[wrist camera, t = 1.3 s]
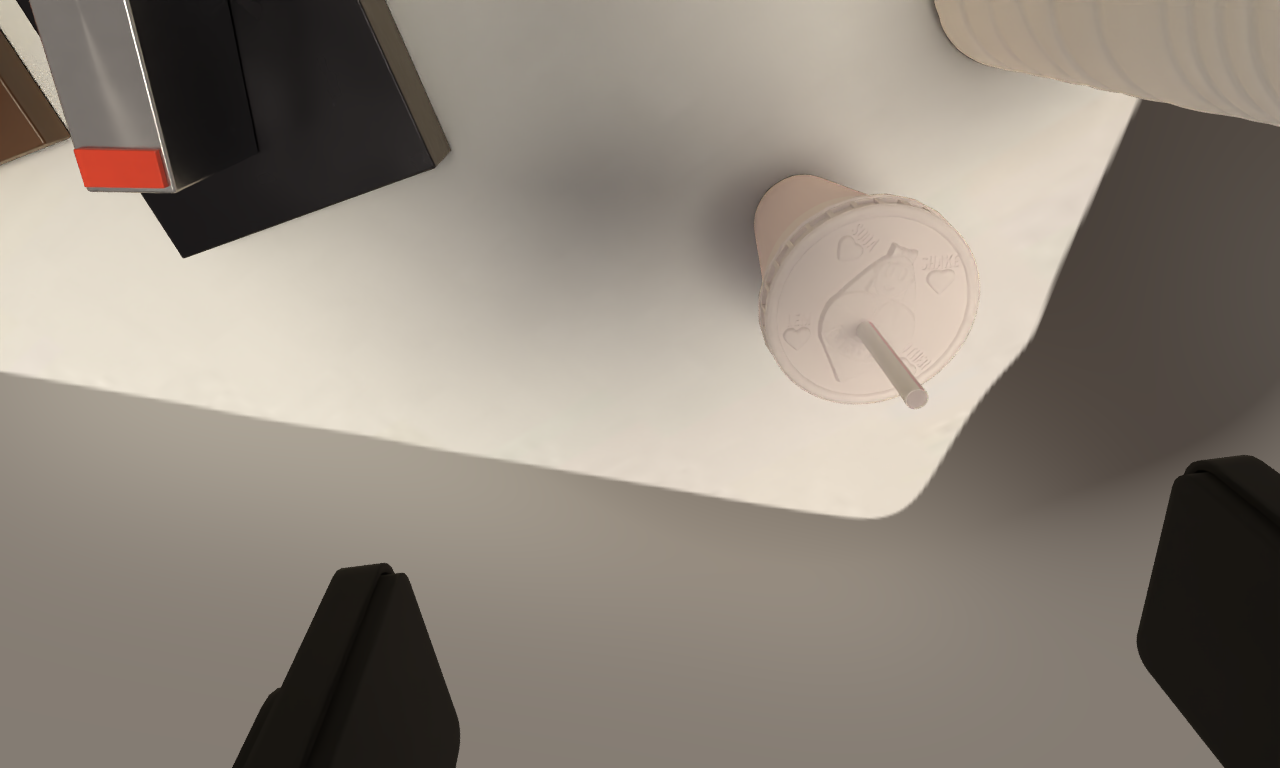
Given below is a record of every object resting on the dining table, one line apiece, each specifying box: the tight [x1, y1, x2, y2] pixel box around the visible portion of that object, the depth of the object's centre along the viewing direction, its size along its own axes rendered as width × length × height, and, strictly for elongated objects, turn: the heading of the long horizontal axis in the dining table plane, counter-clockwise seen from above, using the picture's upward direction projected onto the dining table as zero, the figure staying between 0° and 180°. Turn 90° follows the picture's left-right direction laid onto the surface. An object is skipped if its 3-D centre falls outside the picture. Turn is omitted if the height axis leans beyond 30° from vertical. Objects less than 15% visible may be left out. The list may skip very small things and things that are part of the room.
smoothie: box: [754, 175, 980, 409], centre depth 25 cm, size 6×6×14 cm
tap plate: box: [16, 0, 451, 258], centre depth 25 cm, size 14×10×3 cm
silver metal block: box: [29, 0, 258, 193], centre depth 21 cm, size 9×2×6 cm, turn 179°
